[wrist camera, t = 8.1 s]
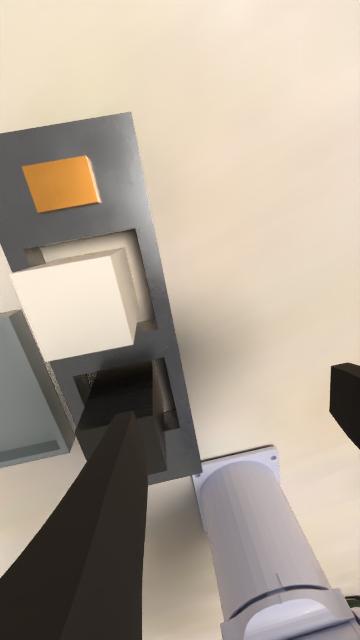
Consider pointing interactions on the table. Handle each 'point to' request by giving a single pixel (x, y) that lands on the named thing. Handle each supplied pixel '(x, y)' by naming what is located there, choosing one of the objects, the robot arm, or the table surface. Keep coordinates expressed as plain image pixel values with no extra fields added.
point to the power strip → (89, 221)
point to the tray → (27, 399)
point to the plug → (80, 303)
